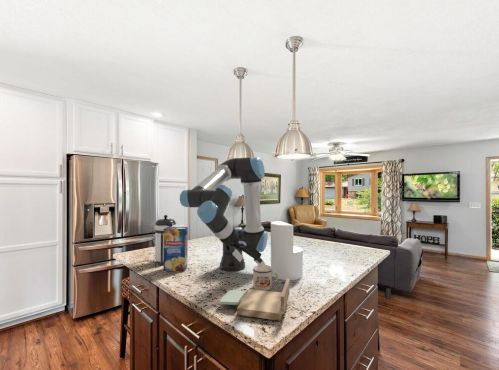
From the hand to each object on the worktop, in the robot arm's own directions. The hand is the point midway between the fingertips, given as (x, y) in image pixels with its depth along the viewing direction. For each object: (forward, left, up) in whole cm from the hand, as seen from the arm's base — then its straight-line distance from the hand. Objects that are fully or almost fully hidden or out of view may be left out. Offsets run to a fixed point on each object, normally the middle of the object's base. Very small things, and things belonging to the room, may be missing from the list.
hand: (251, 262), depth 111 cm
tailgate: (+6, -10, -11) cm, 16 cm away
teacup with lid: (0, +10, -14) cm, 17 cm away
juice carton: (-54, -7, -14) cm, 56 cm away
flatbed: (+13, -6, -14) cm, 20 cm away
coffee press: (-73, -5, -14) cm, 75 cm away
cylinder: (-4, +32, -14) cm, 35 cm away
